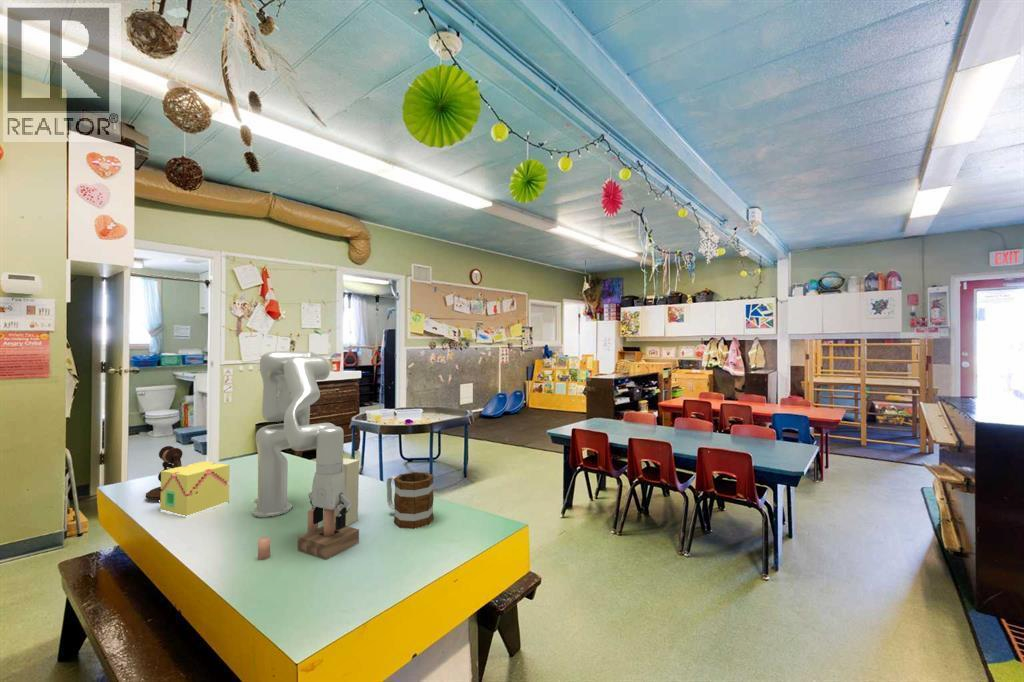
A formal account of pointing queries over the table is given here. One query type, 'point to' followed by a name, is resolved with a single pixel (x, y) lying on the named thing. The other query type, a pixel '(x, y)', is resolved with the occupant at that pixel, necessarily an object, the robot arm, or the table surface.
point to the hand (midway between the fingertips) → (329, 525)
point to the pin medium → (311, 521)
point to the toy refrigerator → (351, 488)
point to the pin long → (329, 522)
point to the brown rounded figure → (168, 456)
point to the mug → (412, 499)
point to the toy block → (194, 487)
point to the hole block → (327, 541)
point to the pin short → (263, 548)
